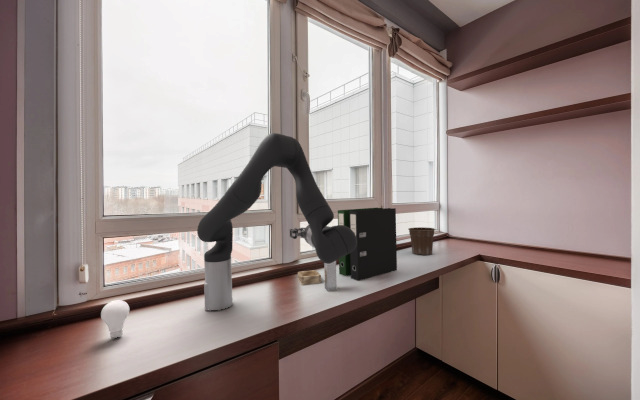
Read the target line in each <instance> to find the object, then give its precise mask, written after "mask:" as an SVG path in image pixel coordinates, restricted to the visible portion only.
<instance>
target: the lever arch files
mask: <svg viewBox="0 0 640 400" xmlns="http://www.w3.org/2000/svg"><path fill="white" fill-rule="evenodd" d="M396 211H397V208H396V207H394V208H392V207H388V208H387V207H386V208H383V207H368V208H367V207H366V208H365V207H364V208H355V209H354V208H353V209H337V225H344V226H347V227H349V228H350V229H351V230H352V231H353V232H354V233H355V235H356V237H357V246H356V248H355V250H354V251H353V252H351V253H349V254H347V255H345V256H344V257H342V258H340V259H338V272H339V275H341V276H344V277H348V276H350V278H351V279H353V280H355V281H357V282H360V281H363V280H367V279H371V278H374V277H378V276H381V275H385V274H389V273H392V272H395V271H397V270H398V258H397V254H398V253H397V212H396Z"/></svg>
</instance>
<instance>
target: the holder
mask: <svg viewBox="0 0 640 400" xmlns="http://www.w3.org/2000/svg"><path fill="white" fill-rule="evenodd" d="M297 280H298V281H299V283H300V285H301V286H306V285H314V284H321V283H322V274H320V273H319V271H317V270H316V269H315V270H314V269H313V270H303V271H297Z"/></svg>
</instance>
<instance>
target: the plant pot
mask: <svg viewBox="0 0 640 400" xmlns="http://www.w3.org/2000/svg"><path fill="white" fill-rule="evenodd" d="M435 230H436V229H435V227H420V226H419V227H409V228H408V232H409V236H410V243H411V252H412V254H414V255H417V256H419V255H421V256H430V255H432V254H433V249H434V248H433V247H434V245H433V244H434V235H435Z"/></svg>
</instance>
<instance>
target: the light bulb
mask: <svg viewBox="0 0 640 400" xmlns="http://www.w3.org/2000/svg"><path fill="white" fill-rule="evenodd" d="M129 313H130V306H129V304H128V303H127V302H126V301H125V300H121V299H115V300H112V301H109V302H108V303H106V304H105V305H104V306H103V308H102V309H101V312H100V318H101V320H102V322H103V323H104V324H105V325H106V326H107V329H108V332H109V337H110V339H113V338H117V337H119V338H120V337H122V336H123V334H124V333H123V328H124V323H125V322H126V319H127V318H128V316H129ZM117 339H118V338H117Z"/></svg>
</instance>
